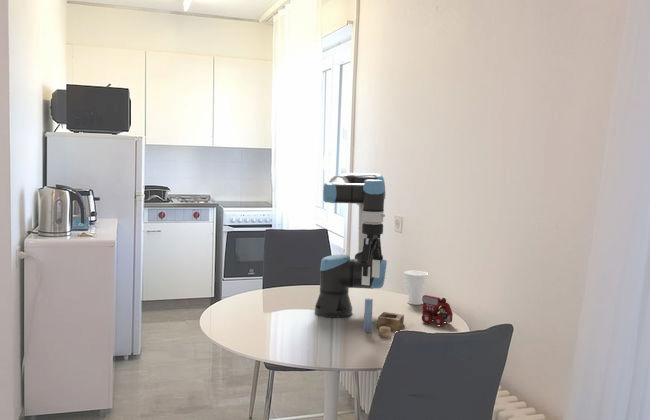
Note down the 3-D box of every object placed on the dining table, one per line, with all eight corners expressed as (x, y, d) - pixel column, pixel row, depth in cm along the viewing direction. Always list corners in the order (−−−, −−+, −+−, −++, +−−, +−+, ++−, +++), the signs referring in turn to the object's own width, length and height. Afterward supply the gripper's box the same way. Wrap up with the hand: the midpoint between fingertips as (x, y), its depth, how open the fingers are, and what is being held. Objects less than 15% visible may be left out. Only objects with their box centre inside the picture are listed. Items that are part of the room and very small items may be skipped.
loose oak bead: (377, 337, 202) (378, 328, 202) (380, 333, 206) (381, 325, 206) (388, 338, 201) (389, 330, 200) (391, 335, 204) (391, 327, 204)
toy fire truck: (447, 328, 214) (448, 301, 213) (417, 322, 221) (418, 296, 220) (454, 324, 220) (456, 298, 219) (425, 318, 227) (426, 292, 226)
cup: (430, 302, 251) (432, 272, 250) (421, 307, 242) (422, 276, 241) (408, 298, 257) (410, 269, 256) (398, 303, 248) (400, 273, 247)
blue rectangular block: (362, 332, 207) (364, 299, 206) (365, 330, 209) (366, 298, 208) (370, 333, 206) (371, 300, 205) (372, 331, 208) (373, 299, 207)
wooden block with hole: (377, 327, 212) (377, 317, 212) (383, 322, 220) (383, 312, 219) (398, 330, 210) (398, 320, 209) (403, 324, 217) (403, 314, 217)
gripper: (373, 227, 191) (371, 289, 193) (391, 220, 214) (389, 275, 216) (352, 226, 193) (350, 287, 196) (372, 218, 217) (370, 273, 219)
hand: (370, 281), depth 206 cm, fingers open, 13 cm apart
